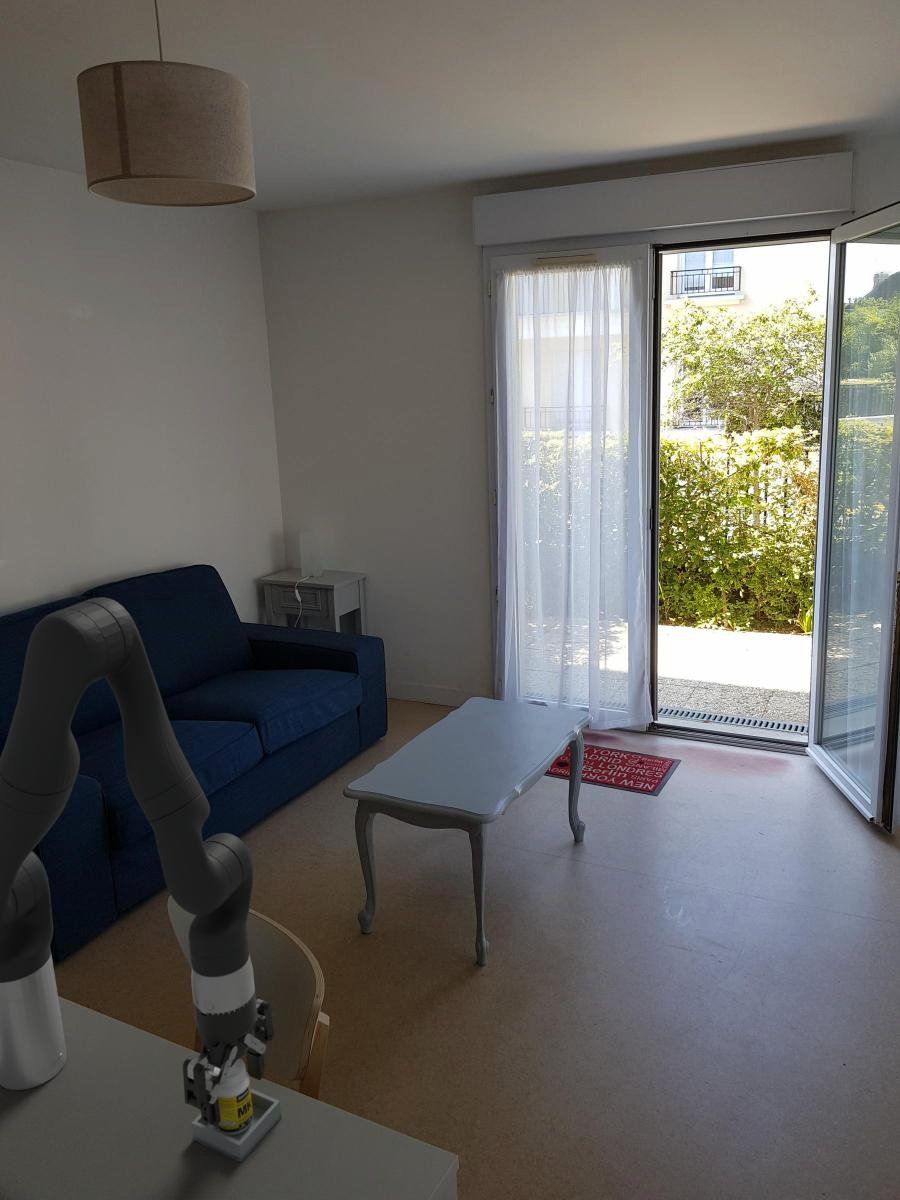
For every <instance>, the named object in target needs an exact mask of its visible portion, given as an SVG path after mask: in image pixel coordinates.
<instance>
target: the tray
mask: <svg viewBox="0 0 900 1200" xmlns="http://www.w3.org/2000/svg"><path fill="white" fill-rule="evenodd" d="M250 1090H251V1100H252V1109H253V1120H252V1123H251V1125H250V1126H249V1127H248V1128H247V1129H246V1130H245V1131H244V1132H242V1133H240V1134H236V1135H225V1134H223V1133H221V1132H220V1131H219V1130H218V1128H217V1126H213V1125H210V1124H208V1123H206V1122H204V1121H203V1120H202V1118H201V1113H199V1114H198V1115H197V1116H196V1117H195V1119H194V1120H193V1121H191V1123H190V1124H191V1131H192V1133H191V1134H192V1140H193V1141H195V1142H198V1143H199V1144H202V1145H204V1146H205V1147H208V1148H210V1149H212V1150H214V1151H216V1152H218V1153H220V1154H223V1155H225V1156H227V1157H228V1158H231V1159H233V1160H235V1161H237V1162H239V1163H243V1162H244V1161H245V1160H246V1158H248V1156H250V1154H251V1153H252V1152H253V1151H254V1149H256V1147H257V1146H258V1145H259V1144H260V1143H261V1141H262V1140H263V1139H264V1138H265V1137H266V1136H267V1135H268V1134H269V1132H271V1130H272V1129H273V1128H274V1127H275V1125H277V1123H278V1122H279V1121H280V1120H281V1119H282V1108H281V1101H280V1100H278V1099H277V1098H274V1097H271V1096H269V1095H267V1094H265V1093H262V1092H261V1091H257V1090H255V1089H253V1088H251V1087H250Z"/></svg>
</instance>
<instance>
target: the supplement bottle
mask: <svg viewBox="0 0 900 1200" xmlns="http://www.w3.org/2000/svg"><path fill="white" fill-rule="evenodd" d="M246 1069H247V1068H246V1063H245V1061H244V1060H243V1059H242V1058H240V1059H238V1060H237V1061H236V1062H235V1063H234V1065H233V1066H232V1067H231V1068H230V1070H229V1073H228V1076H227V1079H226V1082H225V1083H224V1084H222V1085H221V1087H220V1090H219V1093H218V1097H217V1099H218V1100H219V1109H220V1118H221V1122H220V1123H219V1124H218V1125H217V1128H218V1130H219V1131H220V1132H221V1133H223V1134H225V1135H236V1134H240V1133H242V1132H244V1131H245V1130H246V1129H247V1128H248V1127H249V1126H250V1125H251V1123H252V1120H253V1109H252V1100H251V1090H250V1088H251V1082H250V1076H249V1074H248V1072H247V1070H246ZM213 1072H214V1073H216V1074H219V1072H220V1069H219V1068H217V1067H215V1066H214V1068H213Z"/></svg>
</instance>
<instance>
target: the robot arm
mask: <svg viewBox="0 0 900 1200" xmlns="http://www.w3.org/2000/svg"><path fill="white" fill-rule="evenodd" d="M23 665H24V666H23V670H22V674H21V675H22V677H21V681H20V682H21V683H20V689H19V693H18V700H17V703H16V706H15V707H16V708H15V710H14V714H13V717H12V719H11V720H12V721H11V724H10V727H9V731H8V735H7V738H6V741H5V744H4V747H3V750H2V753H1V754H0V1086H1V1087H3V1088H5V1089H7V1090H12V1091H21V1090H22V1091H23V1090H29V1089H32V1088H36V1087H38V1086H41V1085H43V1084H45V1083H47V1082H48V1081H49V1080H52V1078H54V1077H55V1076H56V1075H58V1073H60V1072H61V1070H62V1069H63V1068H64V1067H65V1064H66V1062H67V1058H68V1057H67V1055H68V1054H67V1048H66V1042H65V1041H66V1040H65V1035H64V1028H63V1020H62V1014H61V1007H60V1001H59V996H58V987H57V981H56V974H55V970H54V962H53V958H52V957H53V956H52V951H51V943H52V939H53V935H54V922H53V913H52V912H53V911H52V900H51V889H50V883H49V878H48V877H49V876H48V874H47V871H46V869H45V866H44V864H43V863H42V861H41V860H40V858H39V857H38V855H37V854H36V853H35V852H34V849H35V847H36V846H37V845H39V843H40V842H41V841H42V839H43V838H44V837H45V836H46V835H47V834H48V832H49V831H50V829H52V827H53V825H54V824H55V823H56V821H57V820H58V819H59V818H60V816H61V814H62V812H63V811H64V809H65V808H66V805H67V803H68V800H69V799H70V795H71V793H72V790H73V788H74V785H75V782H76V780H77V776H78V773H79V770H80V761H81V756H80V751H79V750H80V749H79V747H78V744H77V742H76V739H75V736H74V734H73V733H72V730H71V725H72V721H73V718H74V715H75V712H76V710H77V707H78V704H79V702H80V700H81V698H82V696H83V694H84V693H85V691H86V690H87V688H88V687H90V686H91V685H92V684H93V683H95V682H97V681H100V680H102V679H104V678H105V680H106V682H107V683H108V685H109V687H110V688H111V690H112V692H113V694H114V696H115V699H116V702H117V705H118V709H119V711H120V716H121V722H122V733H123V750H124V751H123V753H124V755H123V756H124V765H125V771H126V776H127V780H128V782H129V786H130V788H131V790H132V792H133V795H134V797H135V799H136V801H137V802H138V804H139V806H140V808H141V810H142V812H143V814H144V815H145V818H146V820H147V821H148V823H149V824H150V827H151V828H152V830H153V832H154V837H155V842H156V847H157V851H158V856H159V860H160V866H161V869H162V872H163V876H164V880H165V884H166V887H167V889H168V892H169V894H170V896H171V897H172V898H173V900H174V901H175V903H176V904H177V905H178V906H179V908H181V909H182V910H184V912H187V913H188V914H190V915H194V918H193V919H192V920H191V923H190V926H189V929H188V946H189V957H190V962H191V963H190V964H191V978H190V981H191V982H190V983H191V991H192V1001H193V1009H194V1010H193V1011H194V1020H195V1028H196V1030H197V1033H198V1034H199V1036H200V1038H201V1041H202V1042H201V1043H202V1045H201V1049H200V1054H198V1056H196V1057H195V1059H193V1060H192V1059H190V1058H186V1059H185V1060H184V1062H183V1063H182V1075H183V1077H182V1078H183V1089H184V1090H183V1091H184V1103H185V1104H187V1105H189V1106H192V1107H194V1108H196V1109H198V1110H199V1111H200V1114H201V1118H202V1120H203V1121H204V1122H206V1123H208V1124H210V1125H213V1126H217V1125H218V1124H219V1123H220V1122H221V1118H220V1109H219V1100H218V1099H217V1097H218V1093H219V1090H220V1087H221V1085H222V1084H224V1083H225V1082H226V1079H227V1076H228V1073H229V1070H230V1068H231V1067H232V1066H233V1065H234V1063H235V1062H236V1061H237V1060H238V1059H242V1058H243V1056H246V1067H247V1068H246V1069H247V1074H248V1076H249V1078H250V1077H251V1078H253V1079H255V1080H258V1081H261V1080H262V1079H263V1078H264V1076H265V1067H266V1064H265V1052H266V1049H267V1046H266V1044H267V1042H271V1041H273V1039H274V1036H275V1031H274V1024H273V1016H272V1009H271V1003H270V1002H269V1001H265V1000H262V999H260V998H258V997H257V996H256V987H255V979H254V969H253V968H254V967H253V965H252V963H253V962H252V960H251V955H250V945H249V937H248V935H249V934H248V928H247V922H248V918H249V912H250V906H251V898H252V892H253V891H252V890H253V883H254V864H253V860H252V856H251V853H250V852H249V849H248V847H247V845H246V844H245V843H244V841H242V840H241V839H240V838H239V837H238V836H236V835H234V834H232V833H228V832H220V833H217V834H213V835H212V836H210V837H209V838H207V839H206V840H204V839H203V836H202V831H203V827H204V824H206V823H205V822H206V821H207V819H208V818H209V816H210V813H211V807H210V804H209V801H208V798H207V796H206V794H205V792H204V791H203V789H202V787H201V785H200V783H199V781H198V779H197V778H196V776H195V774H194V772H193V770H192V768H191V766H190V764H189V762H188V760H187V759H186V756H185V754H184V753H183V750H182V748H181V747H180V745H179V742H178V740H177V738H176V735H175V733H174V730H173V727H172V724H171V723H170V720H169V717H168V714H167V711H166V707H165V704H164V701H163V698H162V695H161V693H160V690H159V687H158V683H157V680H156V678H155V675H154V672H153V669H152V667H151V663H150V661H149V658H148V654H147V651H146V648H145V645H144V643H143V639H142V637H141V634H140V632H139V629H138V628H137V625H136V623H135V621H134V619H133V617H132V616H131V614H130V613H129V612H128V611H127V610H126V609H125V607H124V606H123V605H122V604H120V603H119V602H118V601H117V600H114V599H112V598H108V597H94V598H90V599H87V600H84V601H81V602H78V603H75V604H74V605H71V606H68V607H65V608H62V609H59V610H57V611H54V612H52V613H50V614H48V615H46V616H44V617H43V618H42V619H41V620H39V622H38V623H37V624H36V625H35V627H34V628H33V630H32V632H31V635H30V638H29V641H28V643H27V649H26V654H25V659H24V664H23ZM203 840H204V841H203ZM252 1033H253V1035H252ZM247 1049H248V1050H247ZM246 1050H247V1051H246ZM211 1066H213V1067H214V1068H215V1067H217V1068H219V1069H220V1072H219V1074H216V1073H214V1071H212V1070H211ZM209 1081H210V1082H211V1083H212V1084H211V1087H210V1088H211V1089H210V1090H209V1089H207V1088H208V1085H209Z"/></svg>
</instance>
